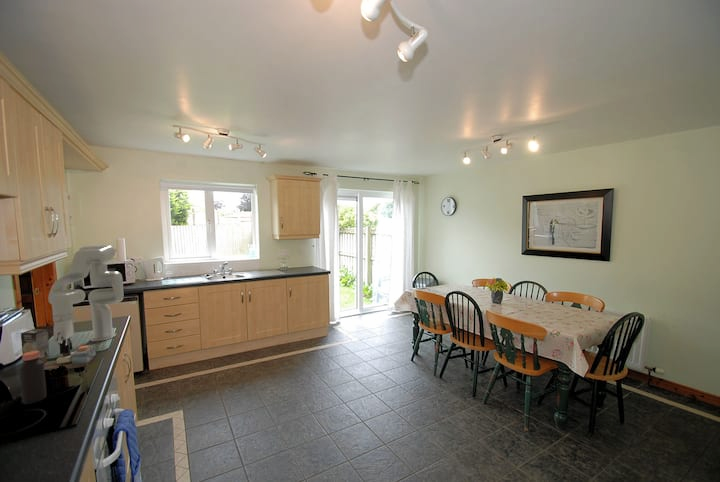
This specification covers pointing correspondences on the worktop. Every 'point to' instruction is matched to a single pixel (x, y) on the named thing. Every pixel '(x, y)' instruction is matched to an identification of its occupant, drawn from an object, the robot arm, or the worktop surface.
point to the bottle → (32, 378)
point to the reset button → (83, 348)
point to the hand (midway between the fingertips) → (66, 351)
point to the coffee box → (35, 341)
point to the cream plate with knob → (65, 355)
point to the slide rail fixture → (77, 359)
